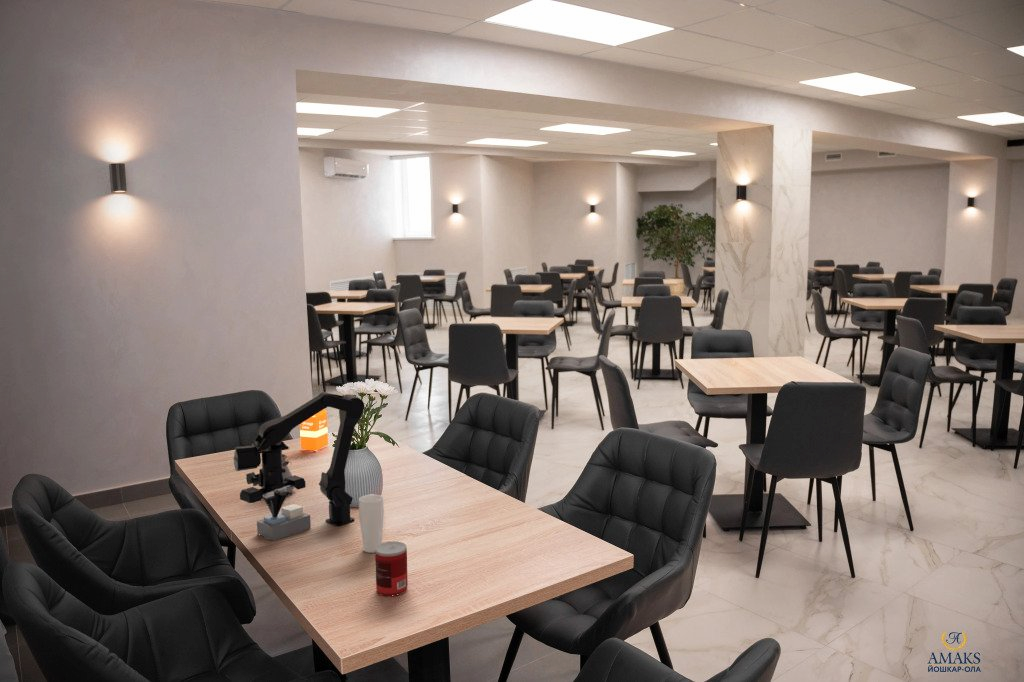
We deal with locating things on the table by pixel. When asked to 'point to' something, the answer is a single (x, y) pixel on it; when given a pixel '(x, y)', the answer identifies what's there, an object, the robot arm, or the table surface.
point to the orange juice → (314, 432)
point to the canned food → (391, 568)
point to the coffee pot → (286, 471)
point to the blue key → (274, 519)
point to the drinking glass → (371, 521)
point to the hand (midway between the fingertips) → (274, 516)
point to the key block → (283, 527)
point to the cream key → (292, 511)
